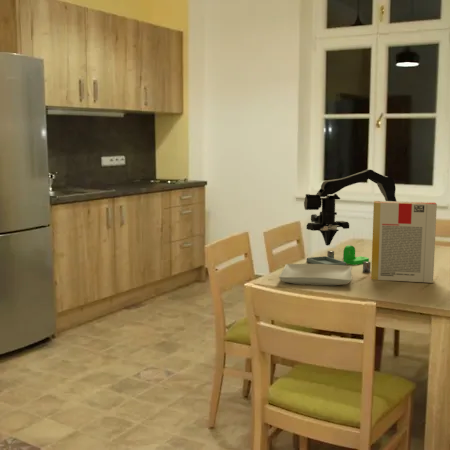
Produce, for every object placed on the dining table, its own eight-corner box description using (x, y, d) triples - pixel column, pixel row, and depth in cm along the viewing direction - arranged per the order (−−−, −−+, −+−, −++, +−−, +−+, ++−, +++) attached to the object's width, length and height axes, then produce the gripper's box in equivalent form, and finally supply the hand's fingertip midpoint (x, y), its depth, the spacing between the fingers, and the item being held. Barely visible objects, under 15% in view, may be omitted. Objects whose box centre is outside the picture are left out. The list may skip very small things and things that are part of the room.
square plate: (351, 273, 249) (352, 264, 248) (351, 289, 222) (352, 278, 222) (285, 271, 254) (286, 261, 254) (278, 285, 228) (278, 275, 227)
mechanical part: (353, 265, 265) (354, 247, 264) (343, 263, 270) (343, 245, 269) (371, 262, 272) (372, 245, 271) (360, 260, 277) (361, 243, 276)
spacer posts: (358, 256, 285) (358, 248, 285) (402, 269, 257) (403, 259, 257) (324, 259, 278) (324, 251, 277) (365, 272, 250) (366, 263, 249)
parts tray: (325, 260, 276) (325, 256, 275) (346, 266, 261) (346, 262, 261) (306, 262, 272) (306, 257, 271) (326, 268, 257) (326, 264, 257)
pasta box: (431, 278, 239) (435, 202, 235) (433, 282, 231) (436, 204, 228) (371, 275, 245) (374, 200, 241) (371, 279, 237) (373, 202, 233)
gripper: (336, 207, 275) (335, 241, 277) (300, 208, 267) (299, 244, 269) (350, 209, 264) (349, 244, 266) (313, 211, 257) (313, 247, 259)
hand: (327, 245), depth 265 cm, fingers closed
